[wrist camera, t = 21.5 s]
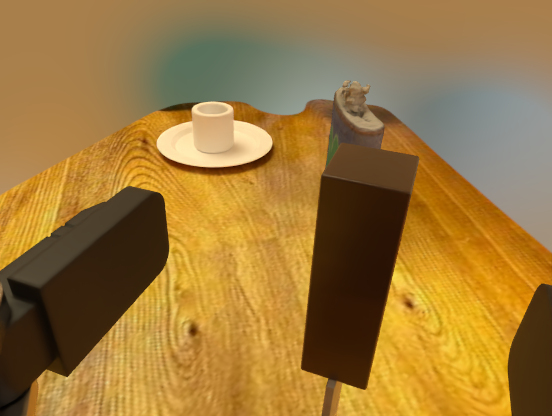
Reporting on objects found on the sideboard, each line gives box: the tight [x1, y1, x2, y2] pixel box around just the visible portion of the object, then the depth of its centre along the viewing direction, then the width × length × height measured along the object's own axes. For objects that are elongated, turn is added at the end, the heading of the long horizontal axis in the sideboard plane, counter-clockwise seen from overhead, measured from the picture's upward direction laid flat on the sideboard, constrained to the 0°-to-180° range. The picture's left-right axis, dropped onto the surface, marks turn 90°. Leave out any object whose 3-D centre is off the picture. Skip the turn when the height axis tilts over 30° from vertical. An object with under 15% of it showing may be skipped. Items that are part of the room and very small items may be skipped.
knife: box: [301, 143, 419, 416], centre depth 17 cm, size 2×3×15 cm
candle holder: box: [157, 102, 273, 167], centre depth 47 cm, size 12×12×4 cm
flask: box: [325, 80, 384, 169], centre depth 37 cm, size 9×3×11 cm, turn 4°
